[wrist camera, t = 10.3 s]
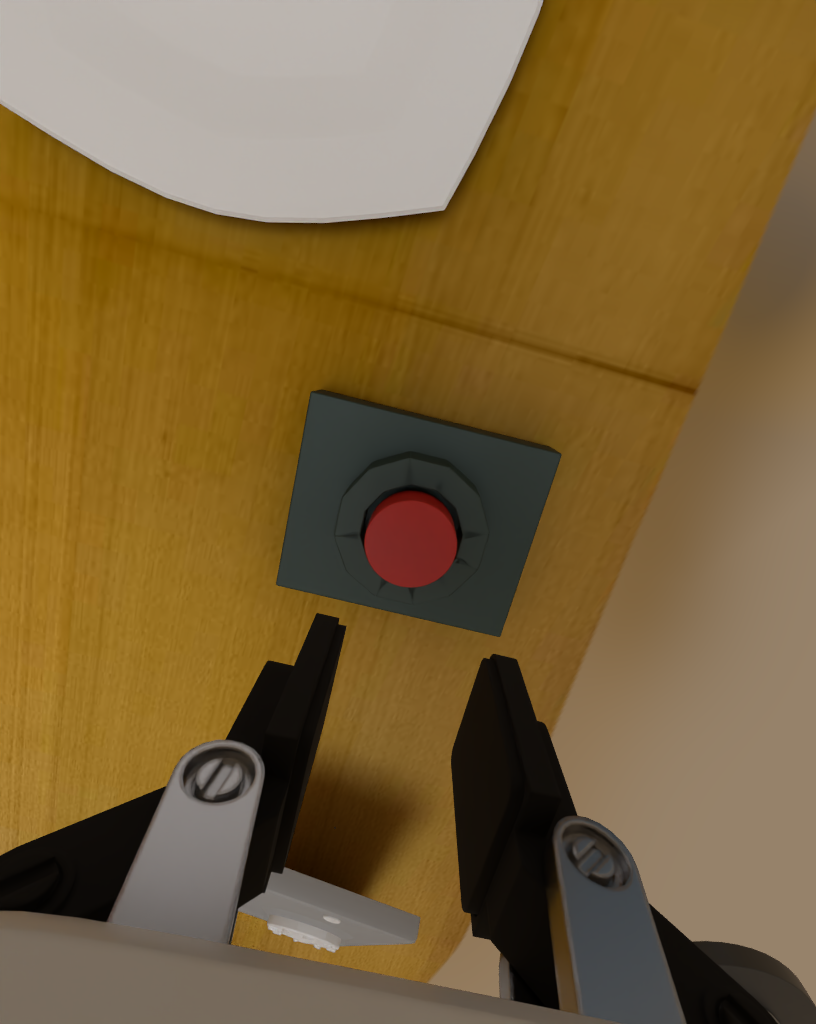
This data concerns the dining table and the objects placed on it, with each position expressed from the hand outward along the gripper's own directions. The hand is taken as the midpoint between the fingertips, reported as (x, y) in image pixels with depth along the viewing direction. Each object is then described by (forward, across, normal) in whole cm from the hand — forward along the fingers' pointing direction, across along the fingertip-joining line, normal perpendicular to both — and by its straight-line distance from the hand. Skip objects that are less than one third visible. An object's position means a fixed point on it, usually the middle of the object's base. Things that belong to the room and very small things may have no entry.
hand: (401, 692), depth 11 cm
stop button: (+12, 0, 0) cm, 12 cm away
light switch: (+15, 0, +24) cm, 29 cm away
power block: (+15, 0, 0) cm, 15 cm away
